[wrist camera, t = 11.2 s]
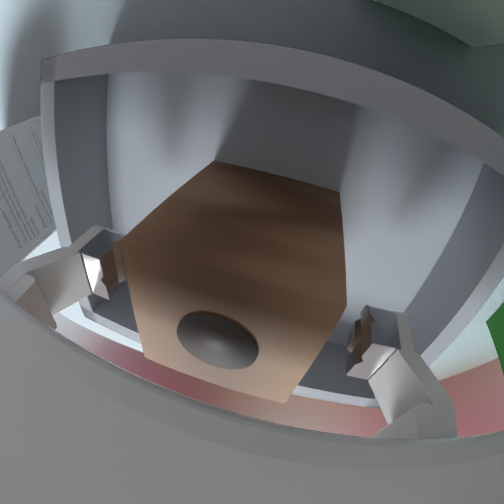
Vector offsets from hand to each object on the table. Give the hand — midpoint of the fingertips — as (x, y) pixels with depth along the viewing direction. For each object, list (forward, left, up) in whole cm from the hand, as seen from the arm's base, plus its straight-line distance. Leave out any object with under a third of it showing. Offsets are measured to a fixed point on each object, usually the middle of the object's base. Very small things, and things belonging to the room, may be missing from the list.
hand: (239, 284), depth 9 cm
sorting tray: (0, 0, -4) cm, 4 cm away
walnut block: (0, 0, -4) cm, 4 cm away
